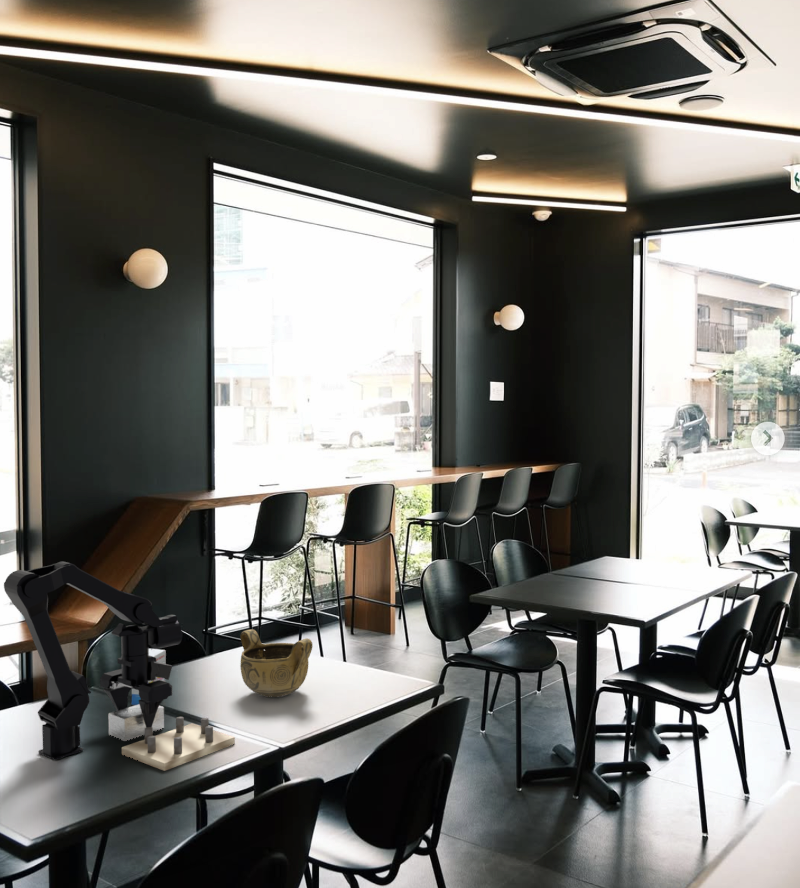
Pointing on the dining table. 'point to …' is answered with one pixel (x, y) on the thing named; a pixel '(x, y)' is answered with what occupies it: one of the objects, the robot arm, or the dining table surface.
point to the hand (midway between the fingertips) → (136, 723)
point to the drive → (132, 722)
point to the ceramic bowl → (273, 665)
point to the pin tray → (168, 747)
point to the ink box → (160, 658)
